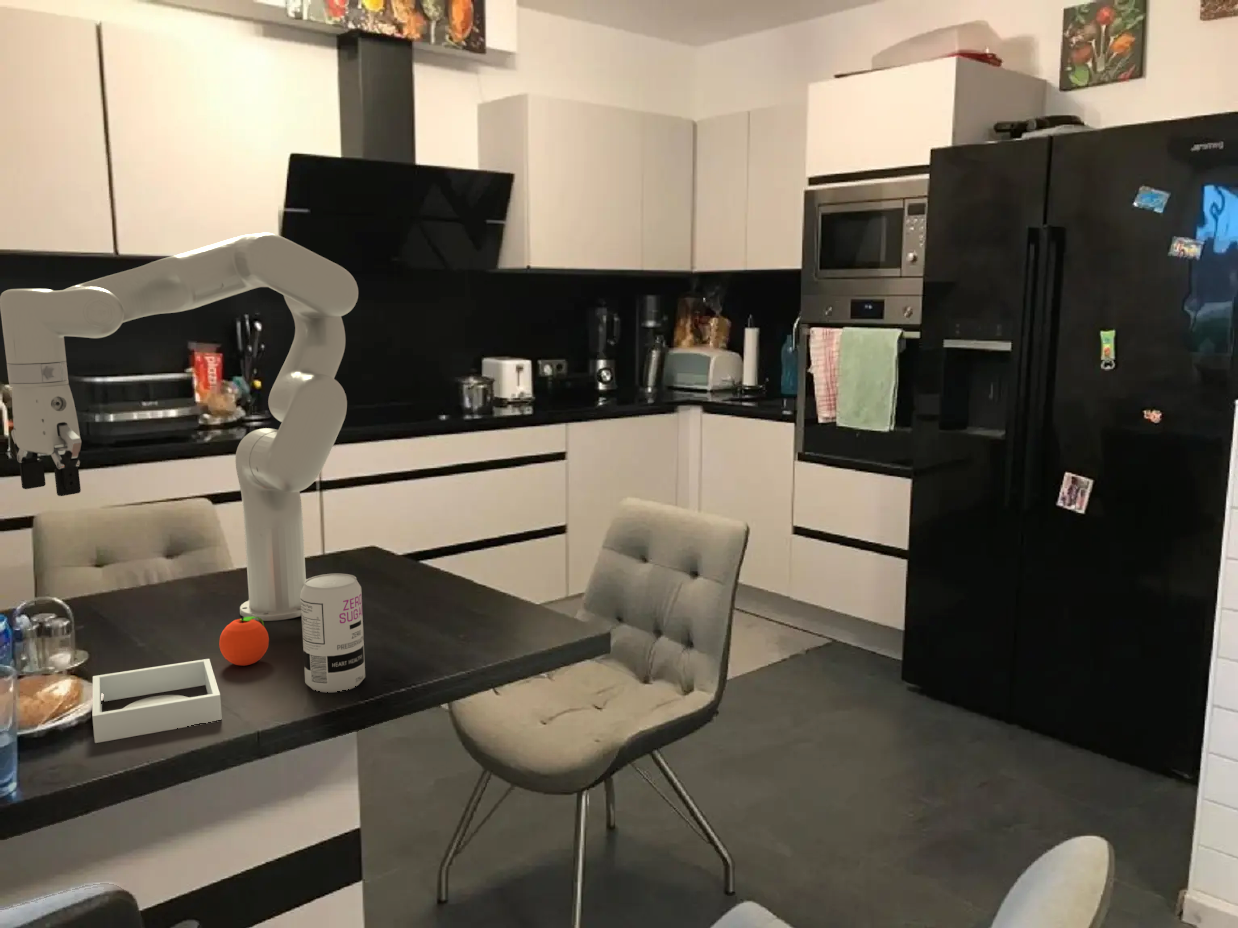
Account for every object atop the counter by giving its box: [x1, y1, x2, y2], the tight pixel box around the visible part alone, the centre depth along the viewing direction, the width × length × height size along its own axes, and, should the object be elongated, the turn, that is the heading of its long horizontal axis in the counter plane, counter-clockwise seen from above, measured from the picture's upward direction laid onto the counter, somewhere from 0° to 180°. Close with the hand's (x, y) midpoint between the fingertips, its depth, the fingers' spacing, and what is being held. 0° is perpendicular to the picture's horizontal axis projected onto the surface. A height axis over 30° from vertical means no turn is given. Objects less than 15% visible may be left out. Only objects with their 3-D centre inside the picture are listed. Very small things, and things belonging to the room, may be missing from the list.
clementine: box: [218, 617, 270, 667], centre depth 151 cm, size 8×7×7 cm
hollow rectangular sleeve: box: [91, 658, 223, 744], centre depth 134 cm, size 15×15×4 cm
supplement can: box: [300, 573, 366, 693], centre depth 142 cm, size 8×8×15 cm
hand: (51, 490), depth 150 cm, fingers open, 9 cm apart
